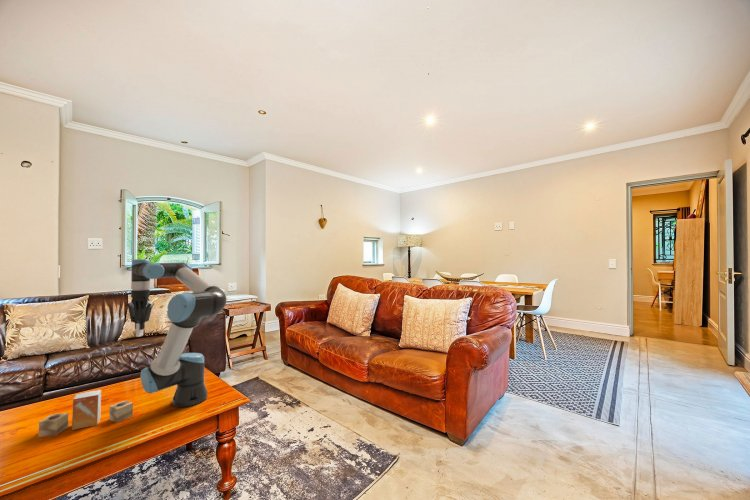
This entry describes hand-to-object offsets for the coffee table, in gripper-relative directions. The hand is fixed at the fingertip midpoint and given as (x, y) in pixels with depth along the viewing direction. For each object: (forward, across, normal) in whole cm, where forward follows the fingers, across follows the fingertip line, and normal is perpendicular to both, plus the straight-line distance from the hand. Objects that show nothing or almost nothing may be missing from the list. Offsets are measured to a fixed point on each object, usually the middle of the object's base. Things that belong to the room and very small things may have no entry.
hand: (139, 335), depth 153 cm
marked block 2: (+33, -6, +16) cm, 37 cm away
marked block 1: (+33, +12, +28) cm, 45 cm away
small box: (+33, +4, +22) cm, 40 cm away
